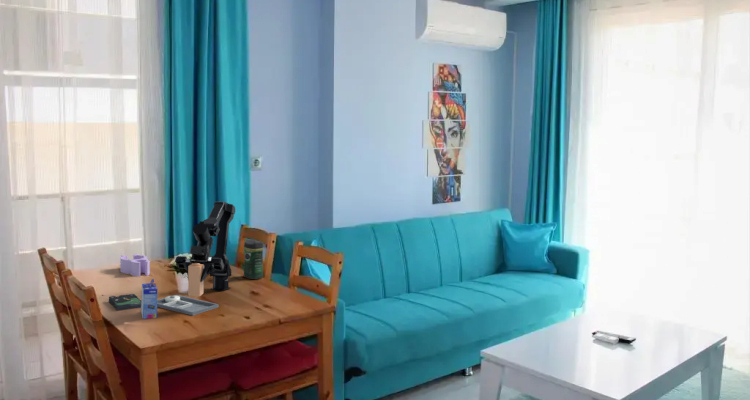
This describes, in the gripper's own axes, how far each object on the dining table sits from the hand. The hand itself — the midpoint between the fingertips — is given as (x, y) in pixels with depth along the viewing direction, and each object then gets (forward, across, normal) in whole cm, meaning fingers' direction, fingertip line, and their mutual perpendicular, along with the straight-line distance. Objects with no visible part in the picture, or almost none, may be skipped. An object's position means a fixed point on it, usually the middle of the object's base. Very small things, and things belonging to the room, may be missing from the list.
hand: (194, 281), depth 256 cm
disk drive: (+6, -31, +13) cm, 34 cm away
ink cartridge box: (+15, -15, +3) cm, 21 cm away
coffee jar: (-33, +9, +51) cm, 62 cm away
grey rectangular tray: (+6, -6, +12) cm, 14 cm away
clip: (-33, -50, +51) cm, 79 cm away
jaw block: (+3, 0, +5) cm, 6 cm away
